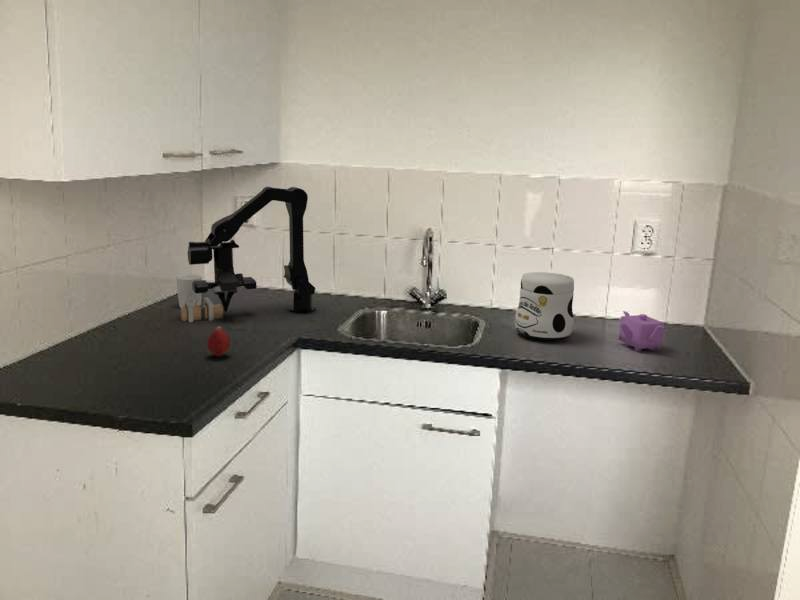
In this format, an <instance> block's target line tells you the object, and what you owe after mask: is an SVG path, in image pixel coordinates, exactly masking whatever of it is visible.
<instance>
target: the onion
mask: <svg viewBox="0 0 800 600" xmlns="http://www.w3.org/2000/svg"><path fill="white" fill-rule="evenodd" d="M206 346H207V349H208V351H209V352H210V353H211V354H213V355H214V356H215V357H219V358H220V357H222V356H223V355H225V353H227V352H228V350H229V349H231V337H230V336H229V334H227V332H225V331H223V330H222V327H221V326H217V327H216V329H215V330H213V331H212V332H211V333H210V334H209V336H208V338H207V340H206Z"/></svg>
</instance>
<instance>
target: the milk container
mask: <svg viewBox="0 0 800 600" xmlns="http://www.w3.org/2000/svg"><path fill="white" fill-rule="evenodd" d="M574 290H575V280H574V278H573V277H571V276H569V275H565V274H561V273H556V272H555V273H553V272H542V271H541V272H540V271H538V272H534V271H533V272H526V273H524V274H522V275H521V279H520V289H519V302H518V306H517V308H516V312H515V314H514V315H515V316H514V326H515V329H516V331H517V332H518V333H519V335H522V336H524V337H527V338H530V339H535V340H541V341H542V340H543V341H556V340H557V341H558V340H564V339H566V338H568V337H569V336H570V335H571V334H572V332H573V329H574V326H575V318H574V317H575V316H574V314H573V313H574V312H573V302H574V301H573V300H574V294H575V293H574Z"/></svg>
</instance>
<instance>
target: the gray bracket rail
mask: <svg viewBox="0 0 800 600" xmlns="http://www.w3.org/2000/svg"><path fill="white" fill-rule="evenodd" d="M203 299H204V300H203V301H204V302H203V303H204V304H203V305H208V312H209V319H208V321H209V322H210V321H212V322H213V321H214V319H213V305H214V303H213V301H212V300H211V299H210V298H209V297H208V296H207V297H203ZM197 303H198V301H197V299H194V306H197ZM184 304H185V307H186V306H188V321H187V322H188V323H194V320H193V305H192V303H191V302H190V300H189V299H184Z"/></svg>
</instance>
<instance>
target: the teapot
mask: <svg viewBox="0 0 800 600" xmlns="http://www.w3.org/2000/svg"><path fill="white" fill-rule="evenodd" d="M622 313H623V314H624V315H622V316H621V317H620V324H619V325H620V326H619V332H618V333H619V335H618V340H619V341H621V342H622V343H624V344H623V347H626V348H627V347H629V348H630V347H633V348H634V350H633V351H635V352H639V353H640V352H642V350H643V349H644V350H645V349H647V350H648V351H656V349H657V348H658V349H659V348H662V347H663V342H664V341H663V340H664V334H665V333H664V332H665V322H662V321H660V320H658V319H655V318H652V317H649V316H648V315H647V314H645V313H643V314H638V315H630V314H629V312H628V311H625V310H624V311H622ZM655 348H656V349H655Z"/></svg>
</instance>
